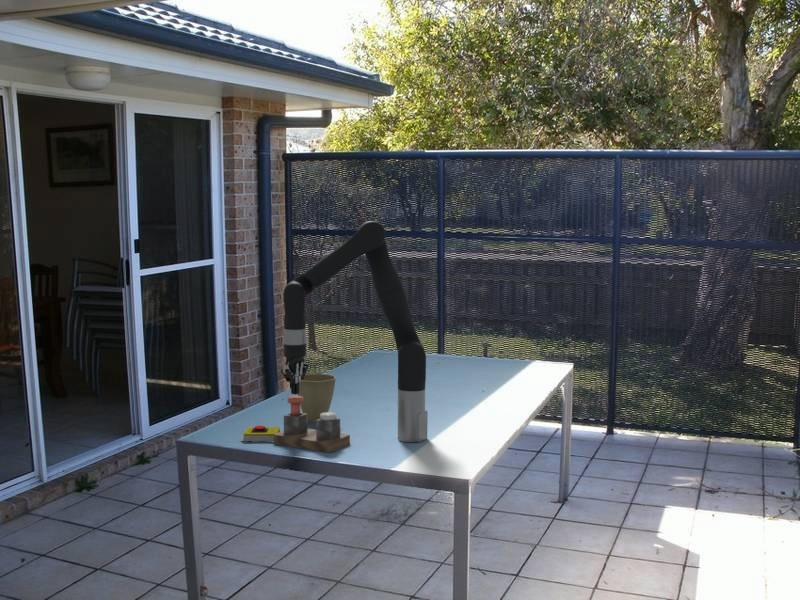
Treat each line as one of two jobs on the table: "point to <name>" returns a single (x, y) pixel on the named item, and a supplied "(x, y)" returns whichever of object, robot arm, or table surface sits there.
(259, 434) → the emergency button
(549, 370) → the table surface
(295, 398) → the red plunger
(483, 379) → the table surface
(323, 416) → the white plunger
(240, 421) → the table surface
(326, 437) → the press board
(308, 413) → the plant pot
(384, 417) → the table surface
